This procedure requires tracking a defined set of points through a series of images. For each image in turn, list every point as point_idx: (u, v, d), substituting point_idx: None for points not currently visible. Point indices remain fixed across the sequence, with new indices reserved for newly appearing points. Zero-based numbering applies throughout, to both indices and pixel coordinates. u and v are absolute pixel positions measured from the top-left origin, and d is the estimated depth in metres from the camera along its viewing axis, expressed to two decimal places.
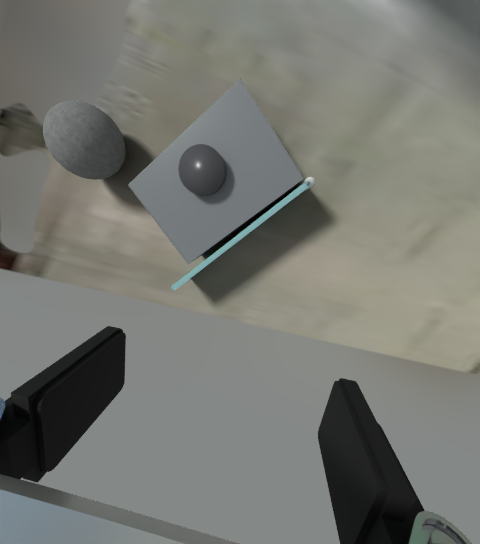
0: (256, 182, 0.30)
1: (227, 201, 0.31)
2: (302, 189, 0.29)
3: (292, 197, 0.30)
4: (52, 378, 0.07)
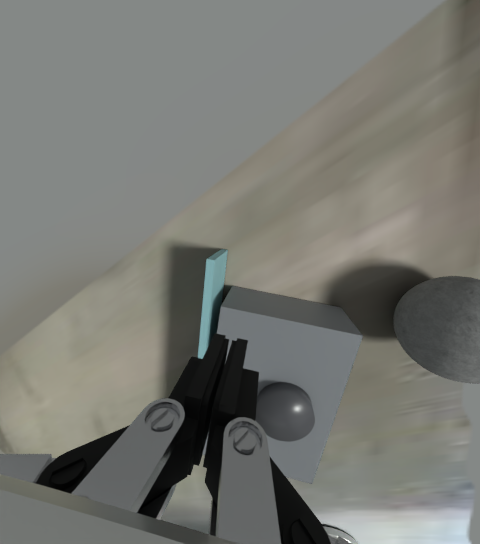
0: None
1: None
2: None
3: None
4: (207, 382, 0.07)
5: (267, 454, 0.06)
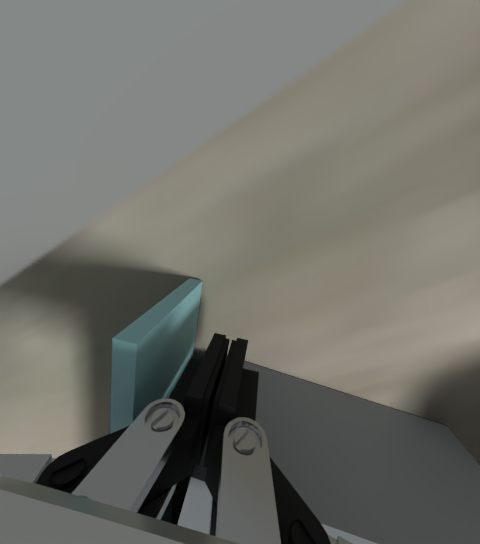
0: None
1: None
2: None
3: None
4: (207, 382, 0.07)
5: (266, 454, 0.06)
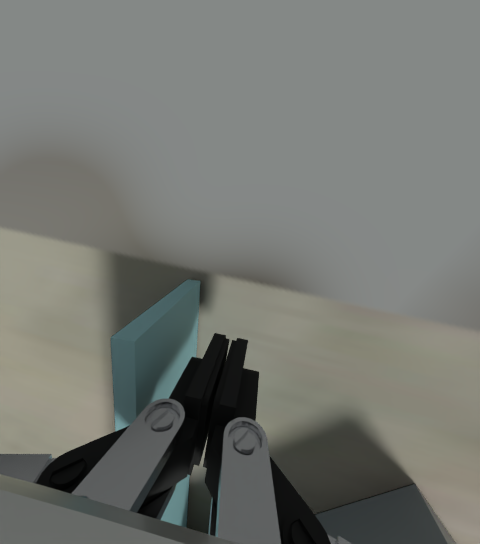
0: None
1: None
2: None
3: None
4: (207, 382, 0.07)
5: (267, 454, 0.06)
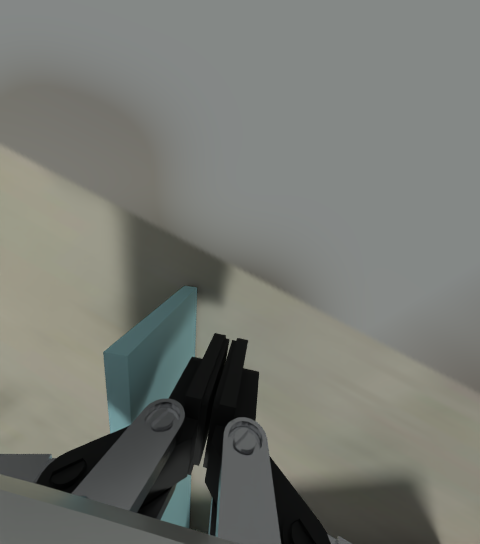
0: None
1: None
2: None
3: None
4: (207, 382, 0.07)
5: (267, 454, 0.06)
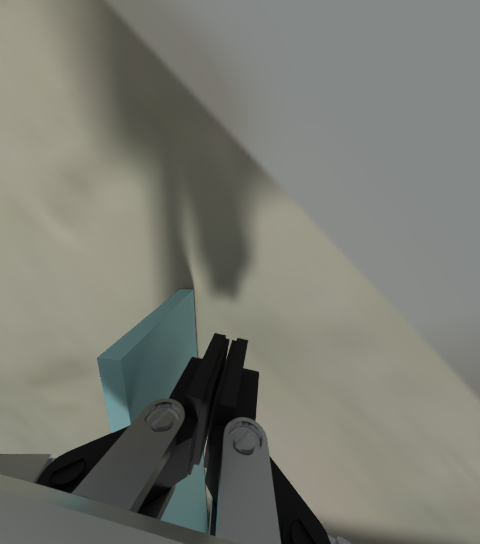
0: None
1: None
2: None
3: None
4: (207, 382, 0.07)
5: (267, 454, 0.06)
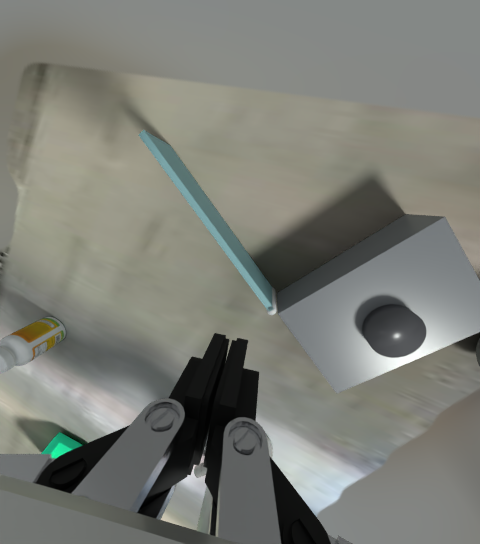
0: (328, 313, 0.27)
1: (366, 296, 0.26)
2: (264, 303, 0.28)
3: (257, 293, 0.28)
4: (207, 382, 0.07)
5: (267, 454, 0.06)
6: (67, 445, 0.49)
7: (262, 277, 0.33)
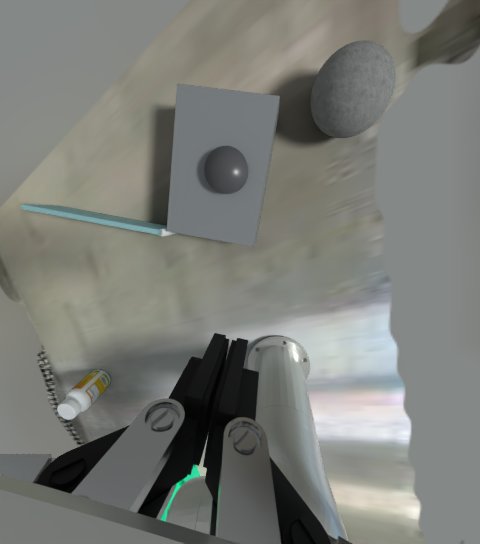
0: (189, 201, 0.34)
1: (195, 169, 0.33)
2: (154, 232, 0.36)
3: (145, 230, 0.36)
4: (207, 382, 0.07)
5: (267, 454, 0.06)
6: None
7: (159, 225, 0.41)
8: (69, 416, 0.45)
